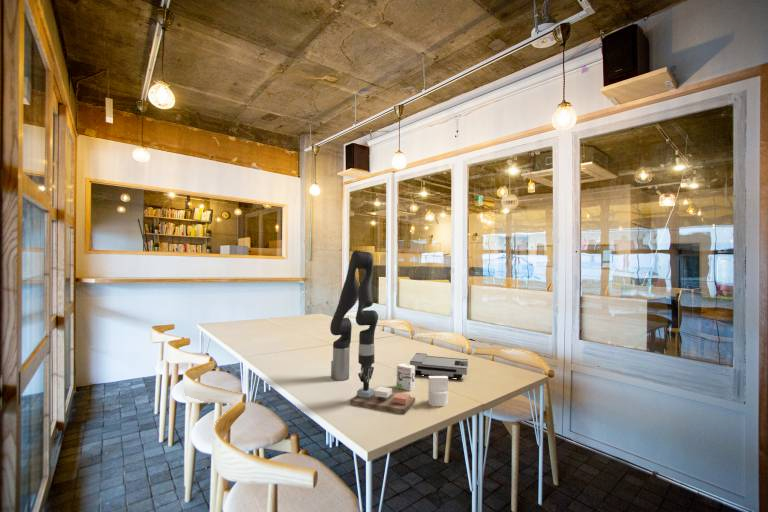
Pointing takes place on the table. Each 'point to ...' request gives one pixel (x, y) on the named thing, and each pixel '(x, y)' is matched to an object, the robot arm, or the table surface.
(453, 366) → the game console
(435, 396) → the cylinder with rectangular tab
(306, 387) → the table surface
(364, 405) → the key panel
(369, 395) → the slate-blue key
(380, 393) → the off-white key
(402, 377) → the ink box
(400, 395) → the rust key
